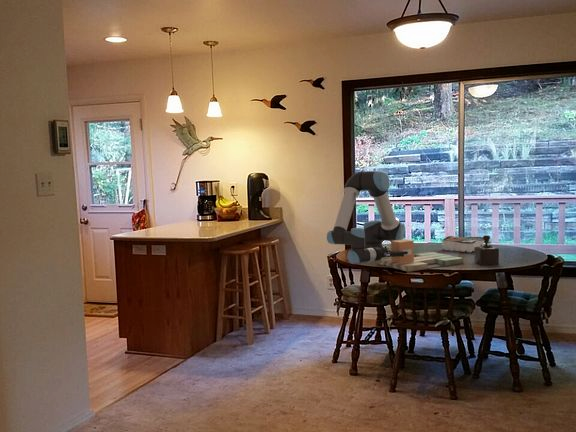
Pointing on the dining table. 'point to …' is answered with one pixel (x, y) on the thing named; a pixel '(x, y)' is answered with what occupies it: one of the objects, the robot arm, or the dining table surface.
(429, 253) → the board
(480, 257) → the brown manual coffee grinder
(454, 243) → the food packaging
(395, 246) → the terracotta block
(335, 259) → the dining table surface
